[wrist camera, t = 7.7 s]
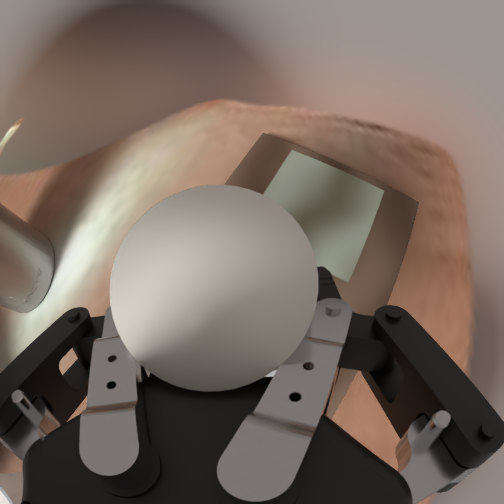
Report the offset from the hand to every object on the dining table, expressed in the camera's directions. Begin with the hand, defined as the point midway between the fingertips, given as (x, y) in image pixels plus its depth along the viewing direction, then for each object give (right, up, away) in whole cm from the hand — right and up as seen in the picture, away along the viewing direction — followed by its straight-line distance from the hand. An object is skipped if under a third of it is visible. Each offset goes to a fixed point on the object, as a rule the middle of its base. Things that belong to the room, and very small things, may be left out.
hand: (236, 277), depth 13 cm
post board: (+3, -1, +9) cm, 10 cm away
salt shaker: (0, -3, +4) cm, 5 cm away
